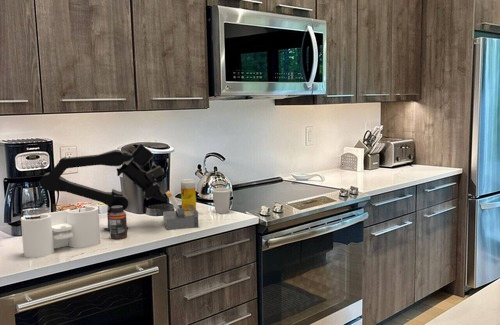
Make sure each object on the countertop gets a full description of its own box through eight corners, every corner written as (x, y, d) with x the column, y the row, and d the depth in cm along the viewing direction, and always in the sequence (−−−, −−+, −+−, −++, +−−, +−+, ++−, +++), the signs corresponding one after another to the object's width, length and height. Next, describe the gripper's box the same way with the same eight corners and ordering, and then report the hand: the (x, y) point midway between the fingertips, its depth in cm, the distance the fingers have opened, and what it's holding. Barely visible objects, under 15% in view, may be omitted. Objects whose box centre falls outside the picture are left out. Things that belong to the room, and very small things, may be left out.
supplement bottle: (120, 234, 181) (119, 204, 179) (130, 236, 177) (129, 205, 175) (106, 237, 176) (105, 206, 175) (116, 240, 172) (115, 208, 171)
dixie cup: (235, 212, 212) (234, 189, 211) (218, 215, 208) (217, 192, 206) (225, 209, 219) (225, 187, 218) (209, 211, 215) (208, 189, 213)
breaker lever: (178, 213, 190) (166, 194, 188) (176, 211, 195) (165, 192, 193) (181, 211, 191) (170, 192, 189) (180, 208, 195) (168, 190, 193)
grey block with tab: (166, 229, 185) (166, 211, 184) (163, 221, 199) (162, 204, 198) (198, 227, 188) (197, 209, 188) (193, 219, 202) (192, 202, 201)
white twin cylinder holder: (30, 260, 152) (27, 222, 151) (20, 253, 160) (17, 217, 158) (105, 243, 169) (103, 209, 168) (93, 238, 176) (91, 205, 175)
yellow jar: (179, 214, 210) (177, 180, 209) (190, 212, 215) (188, 178, 213) (188, 216, 206) (187, 181, 205) (199, 214, 211) (198, 179, 209)
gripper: (152, 162, 179) (183, 189, 183) (149, 156, 197) (177, 182, 201) (131, 184, 178) (163, 212, 182) (129, 177, 196) (159, 202, 200)
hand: (166, 201), depth 191 cm, fingers closed
